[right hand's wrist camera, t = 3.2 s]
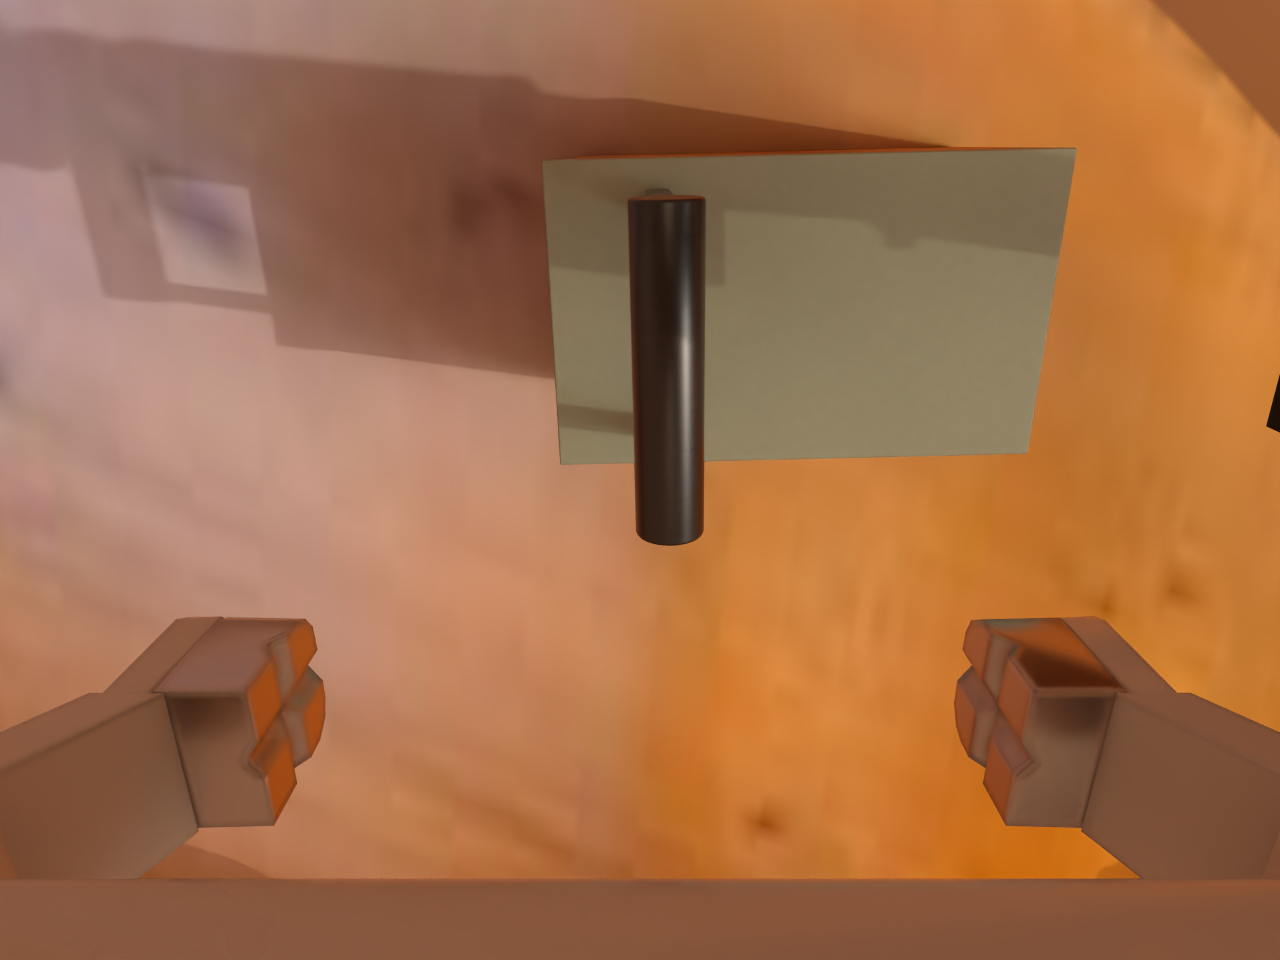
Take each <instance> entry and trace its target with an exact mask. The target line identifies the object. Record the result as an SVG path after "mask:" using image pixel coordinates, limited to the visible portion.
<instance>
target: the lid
mask: <svg viewBox="0 0 1280 960" xmlns="http://www.w3.org/2000/svg"><path fill="white" fill-rule="evenodd" d="M1076 150H1077V149H1076V148H1023V149H980V150H938V151H895V152H853V153H810V154H768V155H725V156H683V157H641V158H598V159H556V160H543V161H542V176H543V193H544V209H545V225H546V241H547V257H548V273H549V290H550V306H551V322H552V338H553V354H554V370H555V387H556V403H557V419H558V435H559V451H560V464H561V465H570V464H612V463H634V469H635V507H636V532H637V534H638V536H639V537H640V538H641V539H643V540H645V541H647V542H649V543H653V544H657V545H667V546H672V545H682V544H686V543H690V542H693V541H695V540H697V539H698V538H699V537H700V536H701V535H702V533H703V530H704V461H740V460H782V459H824V458H867V457H909V456H951V455H994V454H1027V452H1028V446H1029V439H1030V433H1031V427H1032V421H1033V415H1034V409H1035V403H1036V396H1037V390H1038V384H1039V378H1040V372H1041V366H1042V359H1043V353H1044V347H1045V341H1046V335H1047V329H1048V323H1049V316H1050V310H1051V304H1052V298H1053V292H1054V286H1055V279H1056V273H1057V267H1058V261H1059V255H1060V249H1061V243H1062V236H1063V230H1064V224H1065V218H1066V212H1067V206H1068V200H1069V193H1070V187H1071V181H1072V175H1073V169H1074V163H1075V156H1076Z"/></svg>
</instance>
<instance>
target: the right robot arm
mask: <svg viewBox="0 0 1280 960" xmlns="http://www.w3.org/2000/svg"><path fill="white" fill-rule="evenodd" d="M316 651H317V645H316V640H315V635H314V631H313V626H312V625H311V624H310V623H309V622H308V621H307V620H306V619H291V618H240V617H227V618H223V617H186V618H180V619H176V620H175V621H174V622H173V623H172V624H171V625H170V626H169V627H168V628H167V629H166V630H165V631H164V632H163V633H162V634H161V635H160V636H159V637H158V638H157V639H156V640H155V641H154V642H153V643H152V644H151V645H150V646H149V647H148V648H147V649H146V650H145V651H144V652H143V653H142V654H141V655H140V656H139V657H138V658H137V659H136V660H135V661H134V662H133V663H132V664H131V665H130V666H129V667H128V668H127V669H126V670H125V671H124V672H123V673H122V674H121V675H120V676H119V677H118V678H117V679H116V680H115V681H114V682H113V683H112V684H111V685H110V686H109V687H108V688H107V689H106V690H105V691H104V692H103V693H88V694H86V695H84V696H81V697H79V698H77V699H75V700H72V701H70V702H68V703H66V704H63V705H61V706H59V707H57V708H54V709H52V710H50V711H48V712H45V713H43V714H41V715H39V716H36V717H34V718H32V719H30V720H27V721H25V722H23V723H21V724H18V725H16V726H14V727H11V728H9V729H7V730H5V731H2V732H0V960H1280V732H1277V731H1275V730H1273V729H1271V728H1268V727H1266V726H1264V725H1262V724H1259V723H1257V722H1255V721H1253V720H1250V719H1248V718H1246V717H1244V716H1241V715H1239V714H1237V713H1235V712H1232V711H1230V710H1228V709H1226V708H1223V707H1221V706H1219V705H1217V704H1214V703H1212V702H1210V701H1208V700H1205V699H1203V698H1201V697H1199V696H1196V695H1194V694H1192V693H1177V692H1176V691H1175V690H1174V689H1173V688H1172V687H1171V686H1170V685H1169V684H1168V683H1167V682H1166V681H1165V680H1164V679H1163V678H1162V677H1161V676H1160V675H1159V674H1158V673H1157V672H1156V671H1155V670H1154V669H1153V668H1152V667H1151V666H1150V665H1149V664H1148V663H1147V662H1146V661H1145V660H1144V659H1143V658H1142V657H1141V656H1140V655H1139V654H1138V653H1137V652H1136V651H1135V650H1134V649H1133V648H1132V647H1131V646H1130V645H1129V644H1128V643H1127V642H1126V641H1125V640H1124V639H1123V638H1122V637H1121V636H1120V635H1119V634H1118V633H1117V632H1116V631H1115V630H1114V629H1113V628H1112V627H1111V626H1110V625H1109V624H1108V623H1107V622H1106V621H1105V620H1103V619H1100V618H1097V617H1095V616H1089V617H1064V618H1027V619H987V620H971V622H970V624H969V626H968V628H967V630H966V633H965V639H964V644H963V651H964V653H965V655H966V656H967V658H968V659H969V661H970V663H971V664H972V666H971V667H970V668H969V669H968V670H967V671H966V672H965V673H964V674H963V675H962V676H961V677H960V678H959V679H958V680H957V686H956V694H955V701H954V707H955V719H956V727H957V730H958V734H959V737H960V740H961V743H962V745H963V747H964V749H965V751H966V753H967V755H968V757H970V758H971V759H973V760H974V761H976V762H977V763H979V764H980V765H982V766H983V767H985V768H986V770H985V775H984V780H983V785H984V786H985V788H986V790H987V792H988V794H989V795H990V797H991V799H992V801H993V803H994V805H995V806H996V808H997V810H998V812H999V814H1000V815H1001V817H1002V819H1003V821H1004V823H1005V825H1006V826H1036V827H1073V828H1082V830H1081V831H1082V832H1083V833H1084V834H1086V835H1087V836H1088V837H1090V838H1091V839H1092V840H1093V841H1095V842H1096V843H1097V844H1098V845H1100V846H1101V847H1102V848H1104V849H1105V850H1106V851H1107V852H1109V853H1110V854H1111V855H1113V856H1114V857H1115V858H1116V859H1118V860H1119V861H1120V862H1121V863H1123V864H1124V865H1125V866H1127V867H1128V868H1129V869H1130V870H1132V871H1133V872H1134V873H1135V874H1137V875H1138V876H1139V877H1141V878H1142V879H138V878H140V877H141V876H142V875H144V874H145V873H146V872H147V871H149V870H150V869H151V868H152V867H154V866H155V865H156V864H158V863H159V862H160V861H161V860H163V859H164V858H165V857H167V856H168V855H169V854H170V853H172V852H173V851H174V850H175V849H177V848H178V847H179V846H181V845H182V844H183V843H184V842H186V841H187V840H188V839H190V838H191V837H192V836H193V835H195V834H196V833H197V832H198V828H207V827H242V826H274V825H275V823H276V821H277V819H278V817H279V816H280V814H281V812H282V810H283V808H284V806H285V805H286V803H287V801H288V799H289V797H290V796H291V794H292V792H293V790H294V788H295V786H296V785H297V780H296V775H295V769H294V768H295V767H297V766H298V765H300V764H301V763H303V762H304V761H306V760H307V759H309V758H310V757H312V755H313V753H314V751H315V749H316V747H317V745H318V743H319V741H320V738H321V733H322V729H323V725H324V720H325V692H324V685H323V680H322V679H321V678H320V677H319V676H318V675H317V674H316V673H315V672H314V671H313V670H312V669H311V668H310V667H309V666H308V664H309V663H310V661H311V659H312V658H313V656H314V655H315V653H316Z"/></svg>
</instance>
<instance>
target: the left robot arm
mask: <svg viewBox="0 0 1280 960" xmlns="http://www.w3.org/2000/svg"><path fill="white" fill-rule="evenodd" d="M1266 426H1267V427H1269V428H1271V429H1273V430H1276V431H1278V432H1280V376H1279V379H1278V383H1277V387H1276V391H1275V395H1274V398H1273V402H1272V406H1271V410H1270V414H1269V418H1268V421H1267V425H1266Z"/></svg>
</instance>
